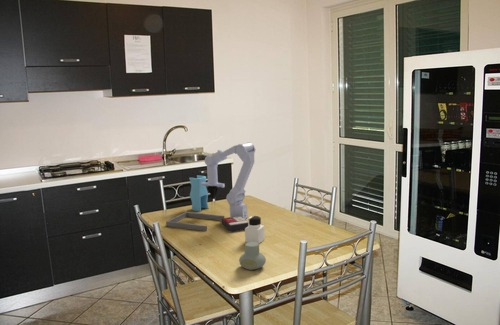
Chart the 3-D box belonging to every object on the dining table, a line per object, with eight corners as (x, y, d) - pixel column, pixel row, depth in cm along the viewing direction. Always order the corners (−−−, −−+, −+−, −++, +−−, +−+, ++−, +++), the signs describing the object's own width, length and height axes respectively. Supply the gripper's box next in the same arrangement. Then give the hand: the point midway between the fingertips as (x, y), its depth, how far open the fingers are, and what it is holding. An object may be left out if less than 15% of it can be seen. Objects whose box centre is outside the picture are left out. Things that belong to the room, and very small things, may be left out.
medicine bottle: (264, 239, 222) (264, 215, 220) (258, 244, 216) (258, 219, 214) (251, 237, 225) (250, 214, 223) (245, 242, 219) (244, 218, 217)
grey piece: (224, 220, 255) (224, 215, 255) (206, 231, 238) (206, 226, 237) (186, 215, 266) (186, 211, 265) (166, 226, 248) (166, 221, 248)
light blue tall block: (199, 206, 285) (197, 175, 281) (208, 208, 280) (207, 176, 277) (190, 209, 278) (188, 177, 275) (200, 211, 274) (198, 178, 270)
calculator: (240, 215, 252) (249, 221, 238) (240, 223, 253) (250, 229, 239) (221, 218, 248) (229, 224, 234) (221, 225, 249) (230, 232, 235)
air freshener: (236, 269, 188) (235, 246, 186) (244, 261, 195) (243, 239, 194) (261, 272, 184) (261, 248, 182) (268, 264, 192) (267, 242, 190)
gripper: (198, 176, 263) (199, 199, 265) (220, 177, 257) (221, 201, 259) (204, 174, 269) (205, 196, 271) (226, 175, 263) (227, 198, 265)
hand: (213, 198), depth 266 cm, fingers closed
